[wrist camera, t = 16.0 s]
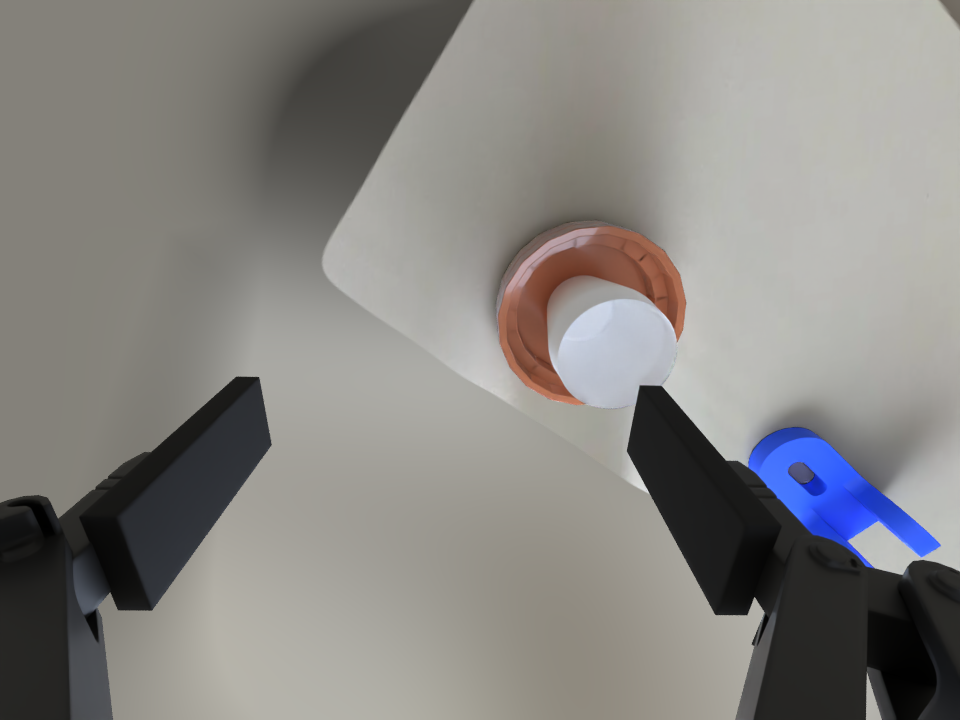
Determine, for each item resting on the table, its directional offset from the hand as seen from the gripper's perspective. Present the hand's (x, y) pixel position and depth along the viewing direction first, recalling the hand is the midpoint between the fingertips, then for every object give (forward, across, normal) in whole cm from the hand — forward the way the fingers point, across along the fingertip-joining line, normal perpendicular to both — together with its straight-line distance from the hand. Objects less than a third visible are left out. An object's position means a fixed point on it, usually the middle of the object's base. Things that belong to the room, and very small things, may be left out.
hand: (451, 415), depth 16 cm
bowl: (+29, +11, -4) cm, 31 cm away
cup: (+28, +11, -4) cm, 31 cm away
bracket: (+29, +41, -25) cm, 56 cm away
